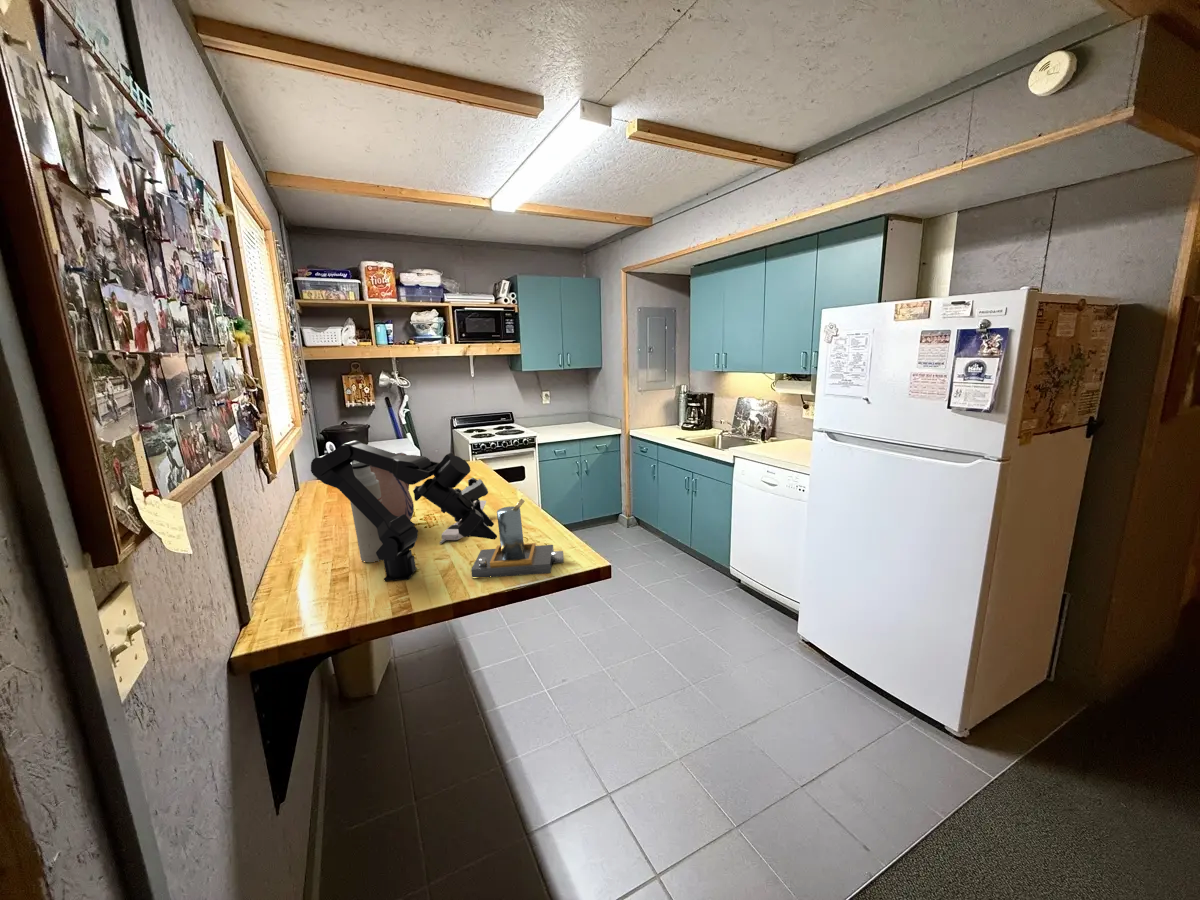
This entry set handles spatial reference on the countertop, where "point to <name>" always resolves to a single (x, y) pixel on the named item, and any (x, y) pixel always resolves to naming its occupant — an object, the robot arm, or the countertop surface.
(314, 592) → the countertop surface
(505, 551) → the spout can
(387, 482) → the ceramic pitcher
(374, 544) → the thermos bottle
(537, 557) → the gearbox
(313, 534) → the countertop surface
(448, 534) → the mobile phone
